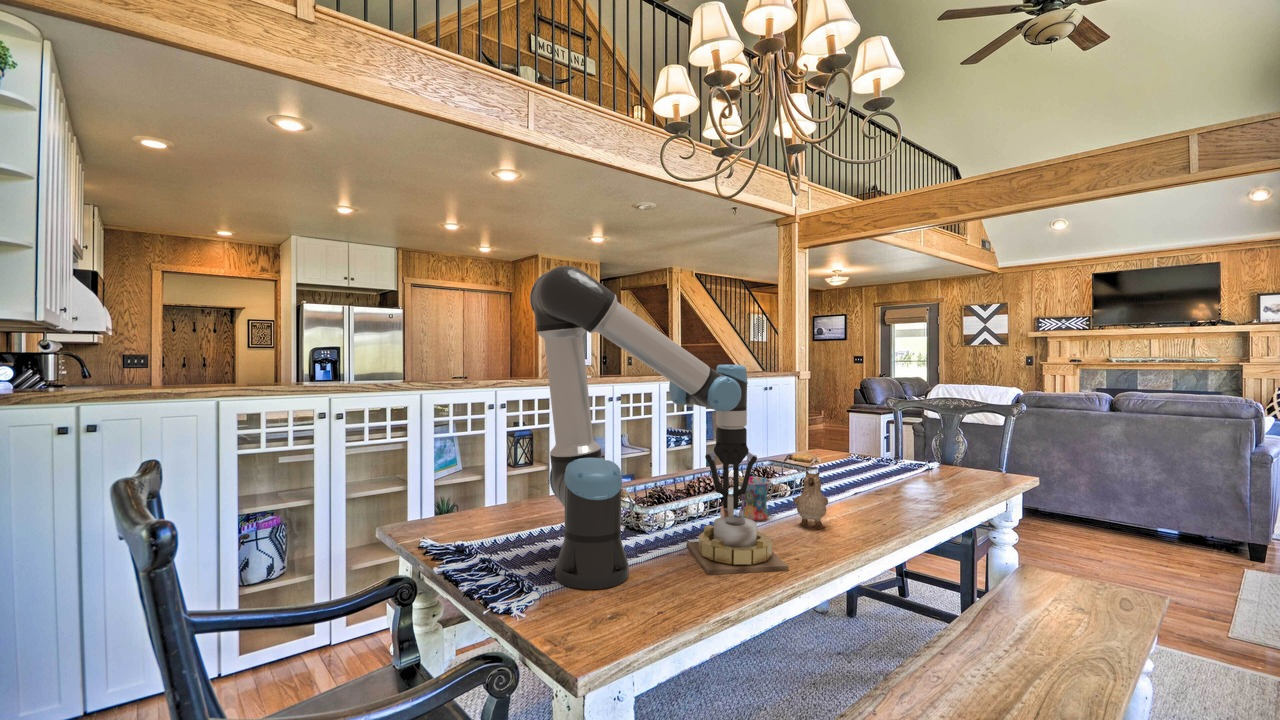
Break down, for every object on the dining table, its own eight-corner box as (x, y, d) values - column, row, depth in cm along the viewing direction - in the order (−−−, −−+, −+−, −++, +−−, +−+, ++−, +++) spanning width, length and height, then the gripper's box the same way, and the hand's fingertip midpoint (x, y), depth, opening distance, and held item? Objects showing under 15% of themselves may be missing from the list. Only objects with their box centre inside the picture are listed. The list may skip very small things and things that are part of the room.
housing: (707, 574, 125) (708, 533, 125) (685, 545, 144) (686, 508, 144) (788, 570, 129) (789, 529, 128) (756, 541, 147) (757, 506, 147)
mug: (753, 524, 161) (753, 485, 161) (730, 516, 169) (730, 478, 169) (784, 518, 168) (785, 480, 167) (761, 510, 175) (762, 474, 175)
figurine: (791, 529, 157) (793, 473, 157) (793, 519, 166) (794, 466, 166) (828, 533, 154) (829, 475, 154) (827, 522, 164) (828, 468, 163)
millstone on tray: (779, 564, 128) (779, 536, 128) (705, 564, 127) (705, 536, 127) (753, 530, 152) (754, 506, 151) (690, 530, 151) (691, 506, 151)
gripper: (758, 425, 150) (757, 519, 151) (706, 424, 153) (706, 515, 154) (757, 429, 143) (756, 527, 143) (703, 428, 146) (702, 524, 146)
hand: (730, 521), depth 148 cm, fingers closed
